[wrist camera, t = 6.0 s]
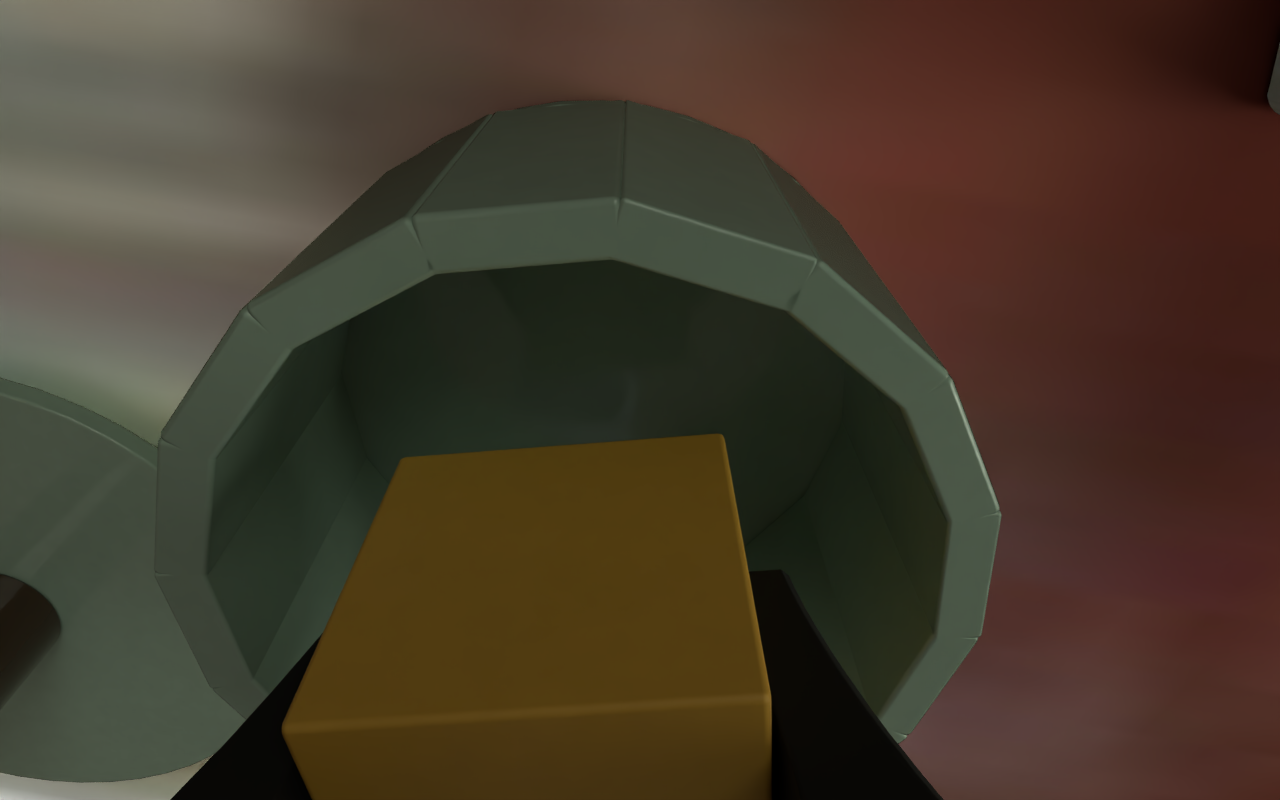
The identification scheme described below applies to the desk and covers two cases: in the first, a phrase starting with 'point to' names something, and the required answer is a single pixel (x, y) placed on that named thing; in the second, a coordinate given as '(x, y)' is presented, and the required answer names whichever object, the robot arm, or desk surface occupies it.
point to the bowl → (582, 388)
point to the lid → (89, 606)
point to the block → (544, 634)
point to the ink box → (1275, 86)
